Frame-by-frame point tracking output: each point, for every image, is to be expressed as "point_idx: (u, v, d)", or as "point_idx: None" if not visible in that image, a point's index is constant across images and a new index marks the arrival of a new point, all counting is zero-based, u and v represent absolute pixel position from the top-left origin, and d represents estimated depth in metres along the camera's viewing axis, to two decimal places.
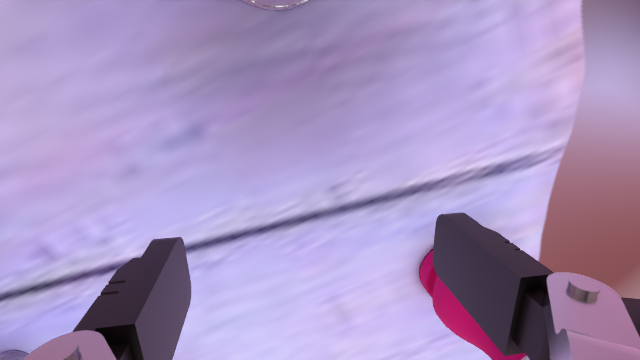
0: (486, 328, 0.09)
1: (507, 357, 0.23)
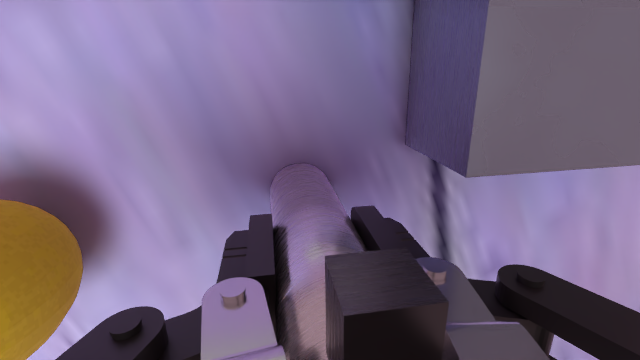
0: None
1: None
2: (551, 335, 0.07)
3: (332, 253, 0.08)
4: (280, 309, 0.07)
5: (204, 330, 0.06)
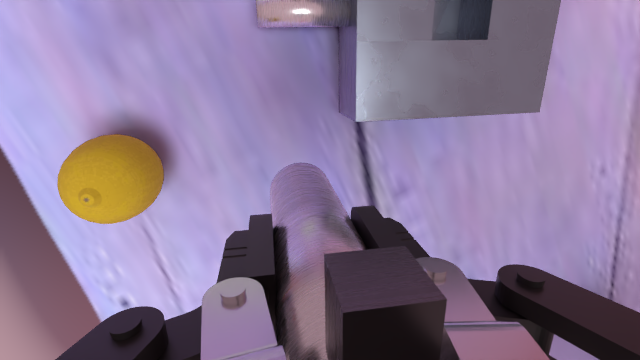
0: None
1: None
2: (551, 335, 0.07)
3: (332, 252, 0.08)
4: (280, 307, 0.07)
5: (204, 330, 0.06)
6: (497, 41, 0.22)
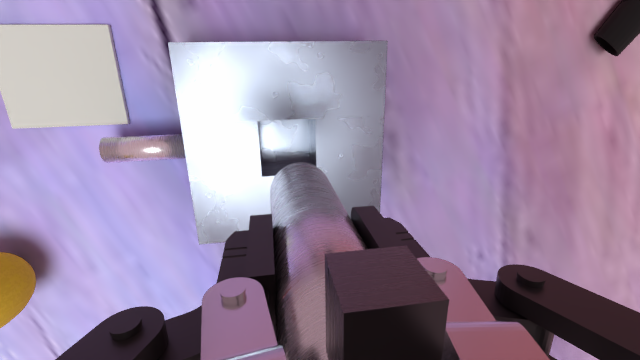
0: None
1: None
2: (551, 335, 0.07)
3: (332, 252, 0.08)
4: (280, 308, 0.07)
5: (204, 330, 0.06)
6: (326, 174, 0.25)
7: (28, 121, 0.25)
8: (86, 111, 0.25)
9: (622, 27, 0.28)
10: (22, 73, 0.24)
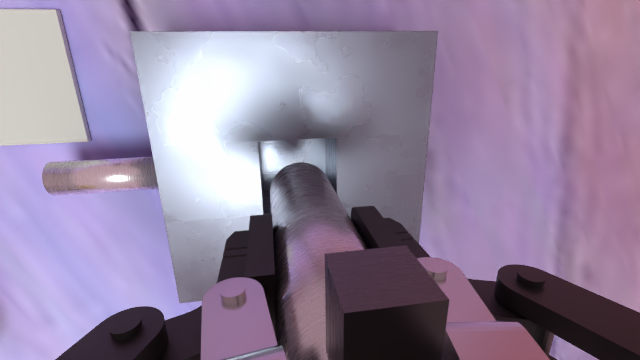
0: None
1: None
2: (551, 335, 0.07)
3: (332, 252, 0.08)
4: (280, 308, 0.07)
5: (204, 330, 0.06)
6: (349, 210, 0.18)
7: None
8: (31, 125, 0.19)
9: None
10: None
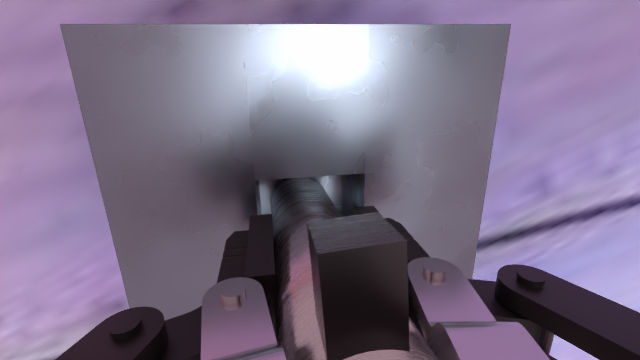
0: None
1: None
2: (551, 335, 0.07)
3: None
4: (278, 294, 0.08)
5: (204, 330, 0.06)
6: (368, 153, 0.12)
7: None
8: None
9: None
10: None
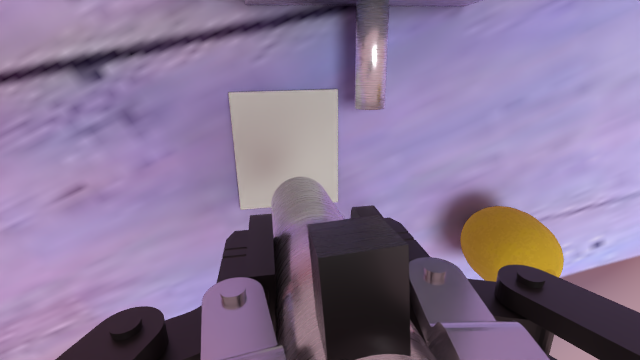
0: None
1: None
2: (551, 335, 0.07)
3: None
4: (278, 296, 0.08)
5: (204, 330, 0.06)
6: None
7: (331, 186, 0.24)
8: (322, 131, 0.22)
9: None
10: None
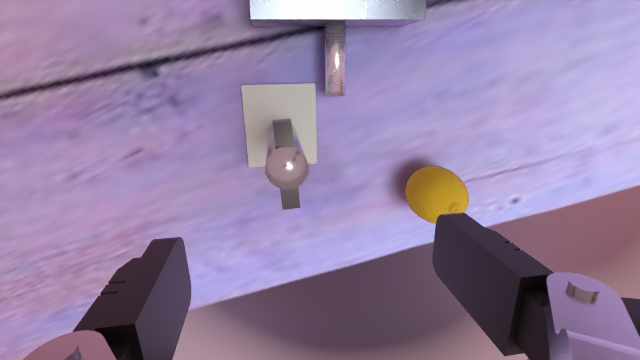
0: (486, 328, 0.09)
1: None
2: None
3: None
4: (267, 149, 0.25)
5: None
6: None
7: (312, 152, 0.34)
8: (305, 112, 0.33)
9: None
10: None
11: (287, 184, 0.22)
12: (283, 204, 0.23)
